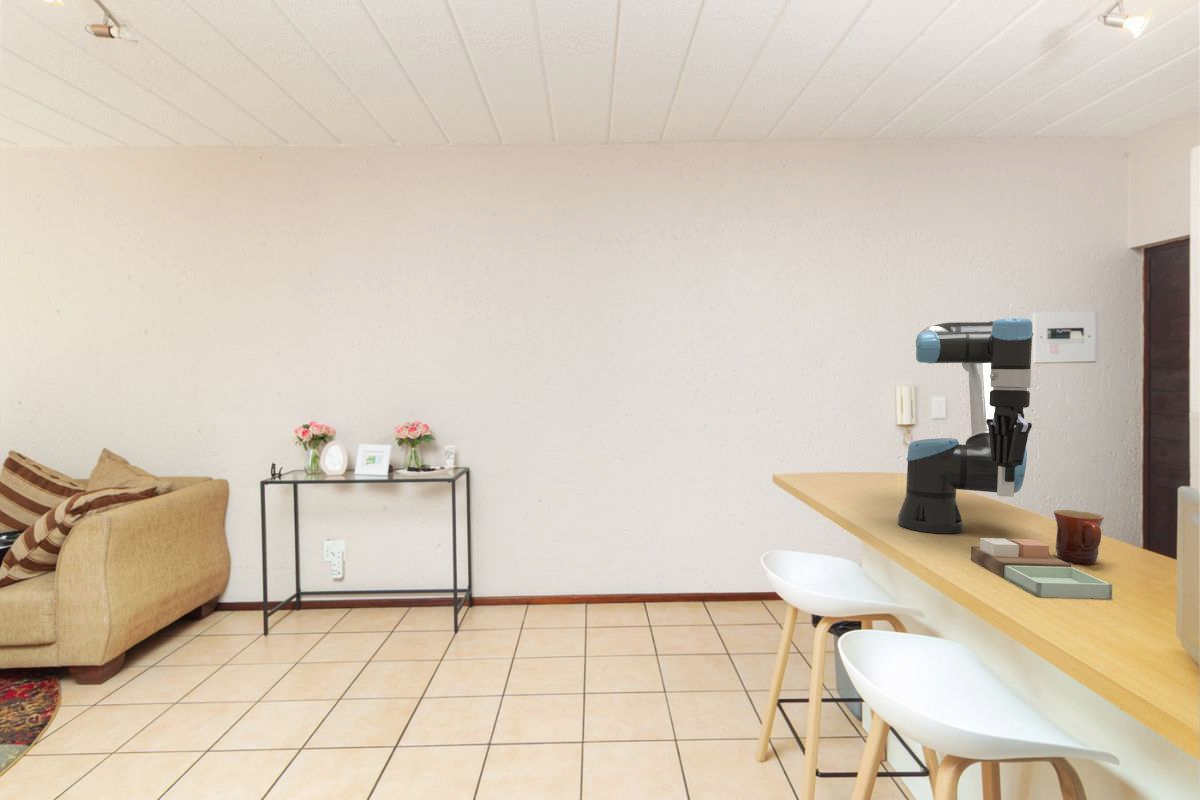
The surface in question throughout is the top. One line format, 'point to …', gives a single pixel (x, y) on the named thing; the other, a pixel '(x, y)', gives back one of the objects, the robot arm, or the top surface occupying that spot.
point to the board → (1011, 561)
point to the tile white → (999, 547)
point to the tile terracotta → (1031, 548)
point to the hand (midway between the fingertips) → (1005, 495)
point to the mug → (1078, 536)
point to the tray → (1057, 582)
